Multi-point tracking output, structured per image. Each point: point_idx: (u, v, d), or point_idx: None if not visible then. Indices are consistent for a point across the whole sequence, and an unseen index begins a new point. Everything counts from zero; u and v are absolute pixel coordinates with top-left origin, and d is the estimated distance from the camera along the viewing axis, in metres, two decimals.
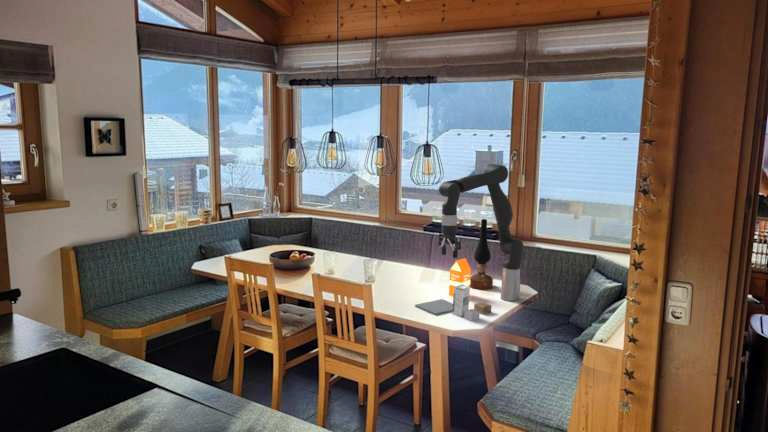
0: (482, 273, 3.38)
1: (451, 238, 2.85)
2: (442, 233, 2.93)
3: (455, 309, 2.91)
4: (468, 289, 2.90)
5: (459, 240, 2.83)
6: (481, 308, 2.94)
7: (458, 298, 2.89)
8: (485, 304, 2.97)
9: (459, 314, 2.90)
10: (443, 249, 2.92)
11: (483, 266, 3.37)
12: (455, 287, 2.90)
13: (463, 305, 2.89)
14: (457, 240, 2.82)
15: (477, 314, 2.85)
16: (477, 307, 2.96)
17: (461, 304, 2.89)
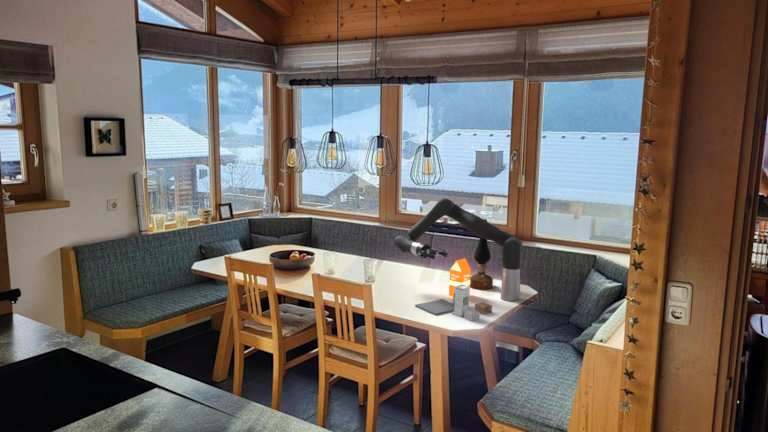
0: (482, 273, 3.38)
1: None
2: None
3: (455, 309, 2.91)
4: (468, 289, 2.90)
5: (419, 252, 3.08)
6: (482, 308, 2.94)
7: (458, 298, 2.89)
8: (486, 304, 2.97)
9: (459, 314, 2.90)
10: (442, 255, 3.10)
11: (483, 266, 3.37)
12: (455, 287, 2.90)
13: (463, 305, 2.89)
14: (419, 255, 3.09)
15: (477, 314, 2.85)
16: (478, 307, 2.96)
17: (461, 304, 2.89)
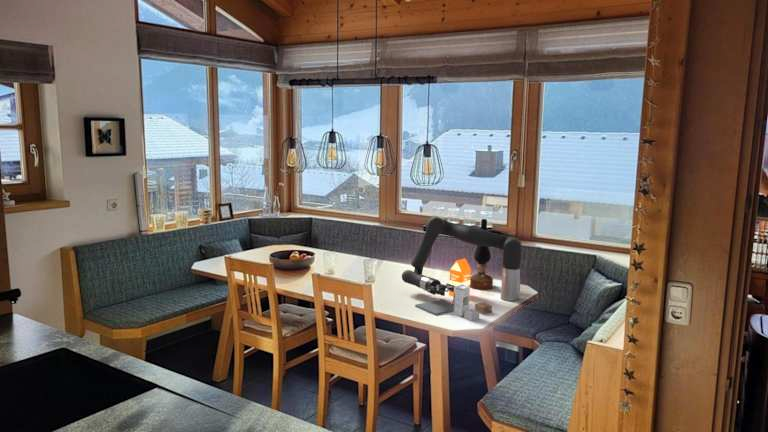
0: (482, 273, 3.38)
1: None
2: (446, 284, 3.10)
3: (455, 309, 2.91)
4: (468, 289, 2.90)
5: (428, 289, 3.01)
6: (481, 308, 2.94)
7: (458, 298, 2.89)
8: (486, 304, 2.97)
9: (459, 314, 2.90)
10: (452, 291, 3.03)
11: (483, 266, 3.37)
12: (455, 287, 2.90)
13: (463, 305, 2.89)
14: (428, 291, 3.02)
15: (477, 314, 2.85)
16: (478, 307, 2.96)
17: (461, 304, 2.89)
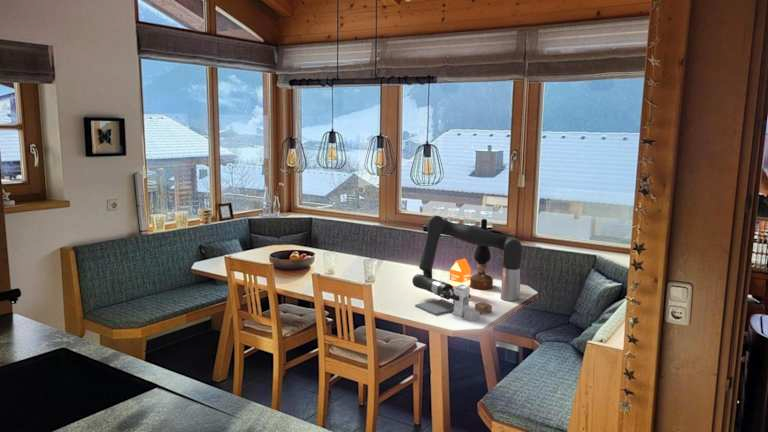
0: (482, 273, 3.38)
1: None
2: None
3: (455, 309, 2.91)
4: (468, 289, 2.90)
5: (442, 294, 2.93)
6: (481, 308, 2.94)
7: None
8: (486, 304, 2.97)
9: (459, 314, 2.90)
10: None
11: (483, 266, 3.37)
12: (455, 287, 2.90)
13: (463, 305, 2.89)
14: (441, 296, 2.93)
15: (477, 314, 2.85)
16: (478, 307, 2.96)
17: (461, 304, 2.89)
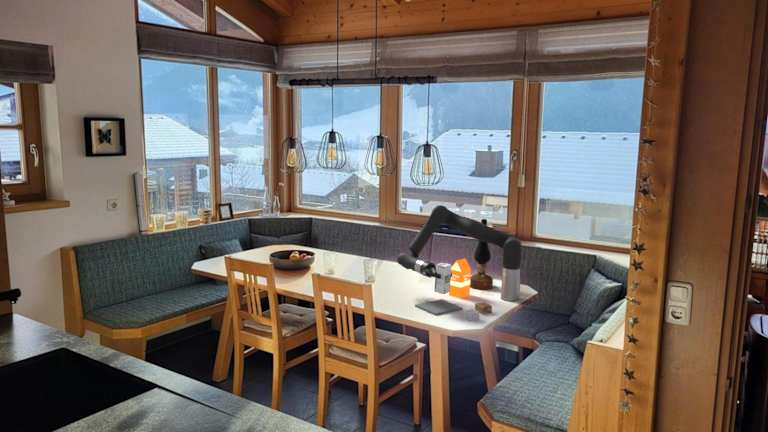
0: (482, 273, 3.38)
1: None
2: None
3: (437, 287, 2.97)
4: (450, 267, 2.96)
5: (424, 272, 2.99)
6: (481, 308, 2.94)
7: None
8: (486, 304, 2.97)
9: (441, 292, 2.96)
10: None
11: (483, 266, 3.37)
12: (437, 265, 2.95)
13: (445, 283, 2.95)
14: (424, 274, 2.99)
15: (477, 314, 2.85)
16: (478, 307, 2.96)
17: (443, 282, 2.94)
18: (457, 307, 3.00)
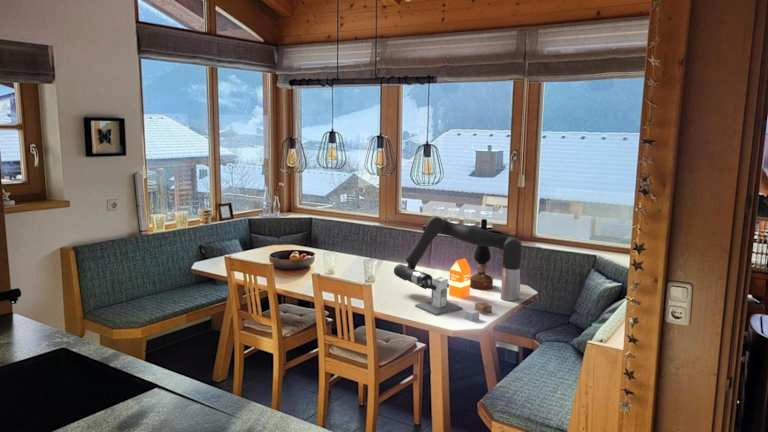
0: (482, 273, 3.38)
1: None
2: None
3: (433, 301, 3.00)
4: (446, 281, 2.99)
5: (420, 283, 3.02)
6: (480, 308, 2.94)
7: (436, 290, 2.98)
8: (486, 304, 2.97)
9: (437, 306, 2.99)
10: None
11: (483, 266, 3.37)
12: (433, 279, 2.99)
13: (441, 297, 2.98)
14: (420, 285, 3.02)
15: (477, 314, 2.85)
16: (477, 307, 2.96)
17: (439, 296, 2.97)
18: (457, 307, 3.00)
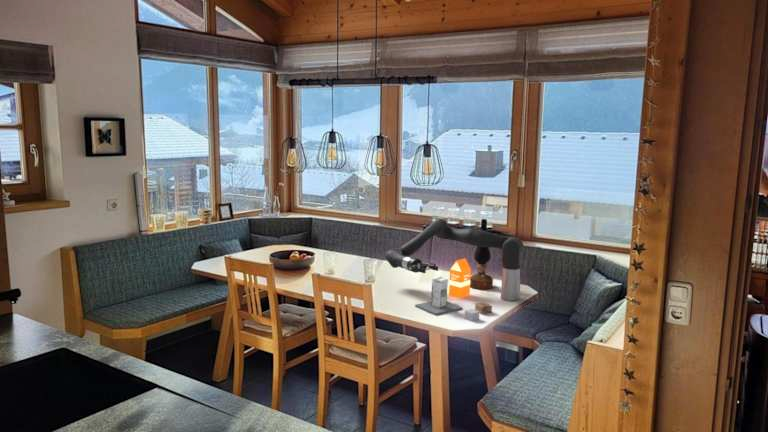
0: (482, 273, 3.38)
1: None
2: None
3: (433, 301, 3.00)
4: (446, 281, 2.99)
5: (410, 267, 3.12)
6: (480, 308, 2.94)
7: (436, 290, 2.98)
8: (486, 304, 2.97)
9: (437, 306, 2.99)
10: (433, 268, 3.14)
11: (483, 266, 3.37)
12: (433, 279, 2.99)
13: (441, 297, 2.98)
14: (410, 269, 3.13)
15: (477, 314, 2.85)
16: (477, 306, 2.96)
17: (439, 296, 2.97)
18: (457, 307, 3.00)
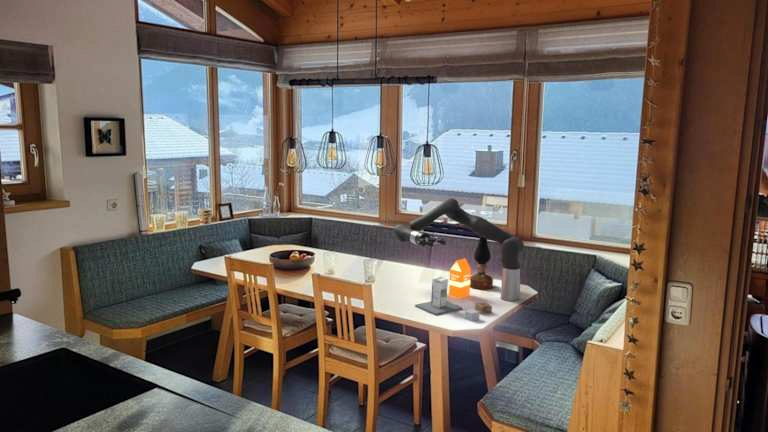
0: (482, 273, 3.38)
1: None
2: (435, 238, 3.23)
3: (433, 301, 3.00)
4: (446, 281, 2.99)
5: (418, 241, 3.15)
6: (480, 308, 2.94)
7: (436, 290, 2.98)
8: (486, 304, 2.97)
9: (437, 306, 2.99)
10: (441, 243, 3.16)
11: (483, 266, 3.37)
12: (433, 279, 2.99)
13: (441, 297, 2.98)
14: (417, 243, 3.15)
15: (477, 314, 2.85)
16: (477, 306, 2.96)
17: (439, 296, 2.97)
18: (457, 307, 3.00)
